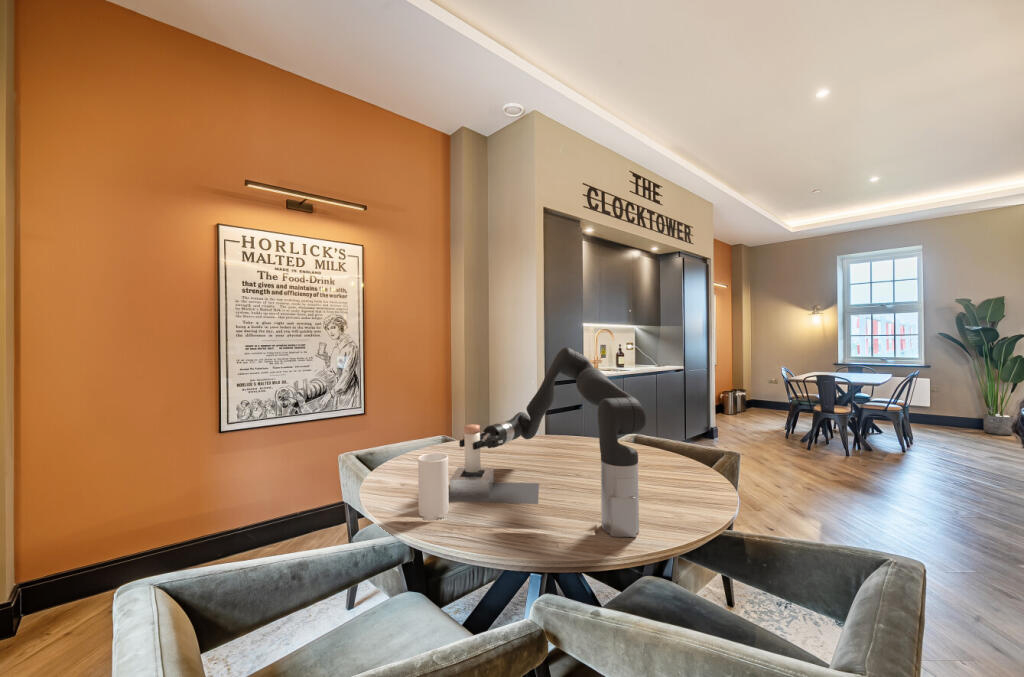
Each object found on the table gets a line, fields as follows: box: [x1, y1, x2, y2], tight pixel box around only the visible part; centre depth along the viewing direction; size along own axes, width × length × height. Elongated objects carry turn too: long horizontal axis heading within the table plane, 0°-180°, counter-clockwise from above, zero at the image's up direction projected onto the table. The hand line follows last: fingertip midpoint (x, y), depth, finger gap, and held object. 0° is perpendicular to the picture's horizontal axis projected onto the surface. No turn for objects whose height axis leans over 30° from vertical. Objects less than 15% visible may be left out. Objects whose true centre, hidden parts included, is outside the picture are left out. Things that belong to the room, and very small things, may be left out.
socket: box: [449, 466, 495, 497], centre depth 129 cm, size 12×12×5 cm
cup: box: [417, 452, 450, 521], centre depth 113 cm, size 8×8×16 cm
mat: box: [449, 481, 540, 505], centre depth 127 cm, size 17×28×1 cm, turn 86°
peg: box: [463, 423, 482, 472], centre depth 129 cm, size 5×5×14 cm
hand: (467, 445), depth 127 cm, fingers closed on peg, 5 cm apart
